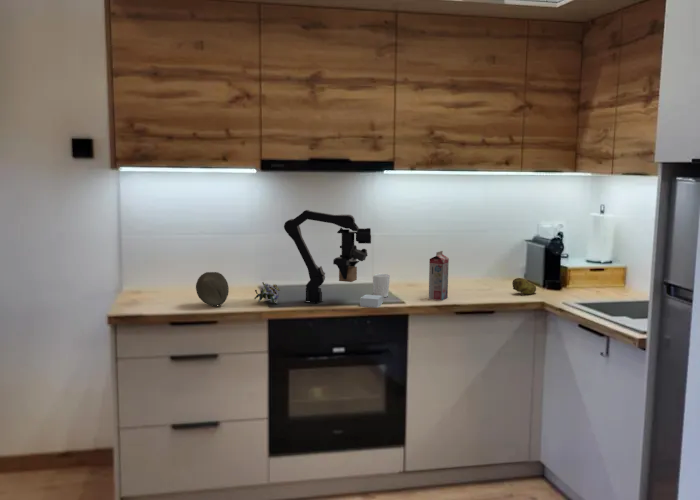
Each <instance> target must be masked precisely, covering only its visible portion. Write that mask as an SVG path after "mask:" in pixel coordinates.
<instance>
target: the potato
mask: <svg viewBox="0 0 700 500" xmlns="http://www.w3.org/2000/svg"><path fill="white" fill-rule="evenodd" d="M512 289H513V290H515V291H516V292H518V293H521V294H524V295H532V294H535V293H536V291H537V286H536V285H535V284H534V283H532V282H530V281H528V280H527V279H526V278H523V277H516V278H515V279H513V281H512Z"/></svg>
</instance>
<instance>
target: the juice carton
mask: <svg viewBox="0 0 700 500" xmlns="http://www.w3.org/2000/svg"><path fill="white" fill-rule="evenodd" d="M449 261H450V259H449V257H448V256H446V255H444V254H443V250H440V251H437V252H436V255H435V256H433V257H431V258H429V265H428V266H429V267H428V268H429V269H428V271H429V272H428V299H429V300H433V301H440V302H441V301H444V300H447V299H448V298H449V297H448V294H449V293H448V291H449V263H450V262H449Z"/></svg>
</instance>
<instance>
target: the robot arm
mask: <svg viewBox="0 0 700 500" xmlns="http://www.w3.org/2000/svg"><path fill="white" fill-rule="evenodd" d="M308 220H310V221H315V222H321V223H322V222H323V223H329V224H334V225H336V226H338V227H340V228H339V229H338V231H336V233H337V234H341V245H339V248H340V249H341V254H339V256H337V257H335V258H333V261H332V263H333V265H335V266H337V268H338V271H339V270H340V272H341V274H342V276H343V279H346V278H347V271H348V267H349V266H355V267H356V265H357V264H358V263H359V262H364V261H366V258H367V257H368V250H367V249H366V248H362V249H358V247H357V245H356V244H355V242H356V243H358V244H362V245H363V244H365V245H367V244H372V231H371V229H372V228H371V227H366V228H360V227H359V226H358V225H357V223H356V219H355V217H354V216H353V215H352V214H331V213H325V212H318V211H312V210H309V209H306V210H304V211H302V213H300V214H299V215H298V216H296V217H295V218H290V219H288V220H287V221H285V222H284V224H283V228H284V230H285V233H286V234H287V235H288V236H289V238H291V239H292V240H293V242H294V244H295V247H296V248H297V250H298V252H299V254H300V256H301V258H302V260H303V262H304V264H305V266H306V268H307V272H308V276H309V279H310V280H308V281H307V283H306V285H305V301H310V302H315V303H314V304H318V303H317V302H319V303H321V302H323V301H322V300H323V291H322V288H321V286H322V285H323V283H324V281H326V272H325V271H324V269H323V267H322V265H320V266H318V265H317V264H316V262H315V260H314V258H313V256H312V254H311V252H310V249H309V248H308V246H307V244H306V241H305V240H304V237H303V235H302V231H301V224H303V223H305V222H306V221H308ZM350 230H351V231H350ZM320 301H321V302H320Z"/></svg>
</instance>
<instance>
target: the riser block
mask: <svg viewBox="0 0 700 500" xmlns="http://www.w3.org/2000/svg"><path fill="white" fill-rule="evenodd" d="M383 298H384V297H383V296H379V295H374V294H364V295H363V296H361V297H360V299H359V307H362V308H365V307H366V308H379V307H381V306H382V305H383V304H382V303H383V301H384V299H383ZM381 304H382V305H381Z"/></svg>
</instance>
